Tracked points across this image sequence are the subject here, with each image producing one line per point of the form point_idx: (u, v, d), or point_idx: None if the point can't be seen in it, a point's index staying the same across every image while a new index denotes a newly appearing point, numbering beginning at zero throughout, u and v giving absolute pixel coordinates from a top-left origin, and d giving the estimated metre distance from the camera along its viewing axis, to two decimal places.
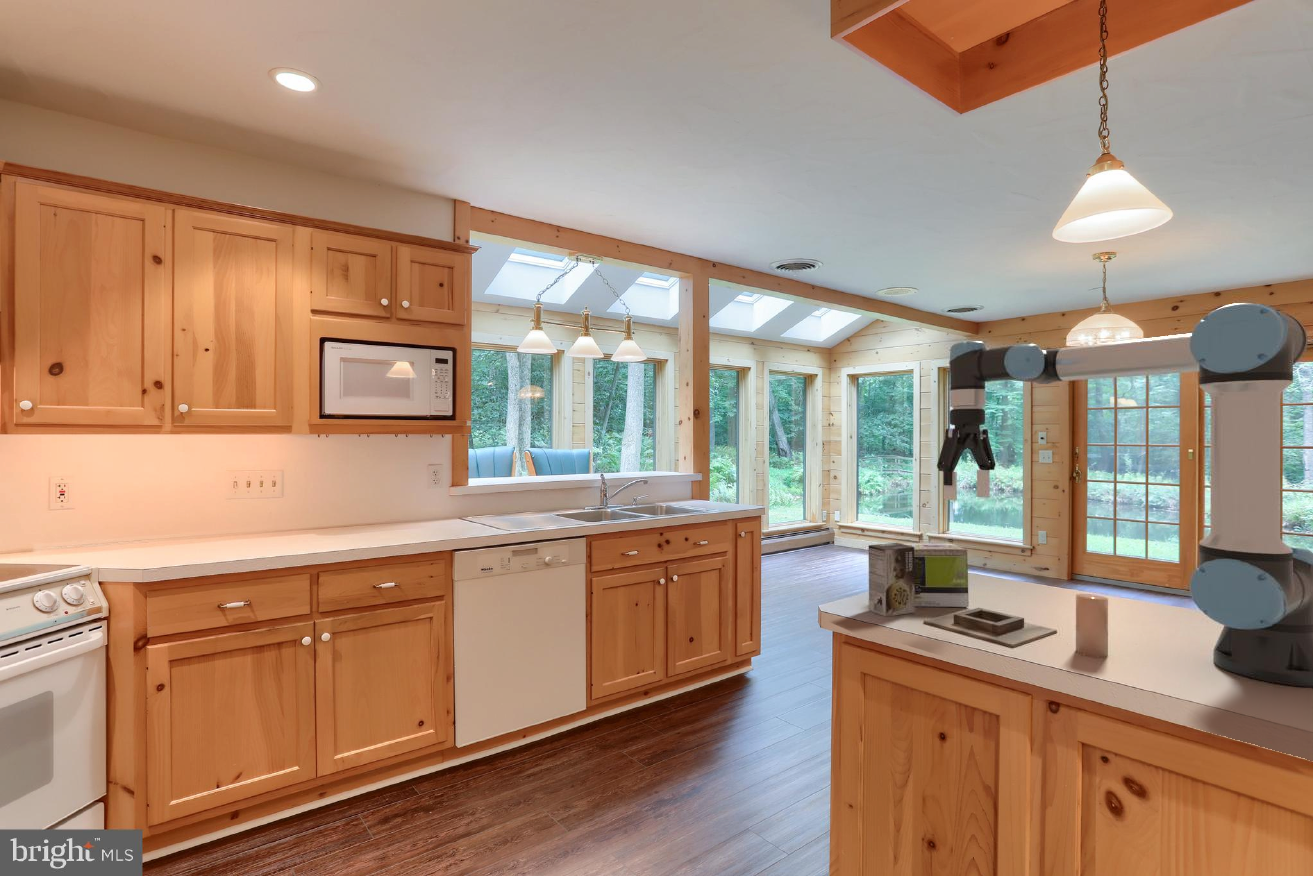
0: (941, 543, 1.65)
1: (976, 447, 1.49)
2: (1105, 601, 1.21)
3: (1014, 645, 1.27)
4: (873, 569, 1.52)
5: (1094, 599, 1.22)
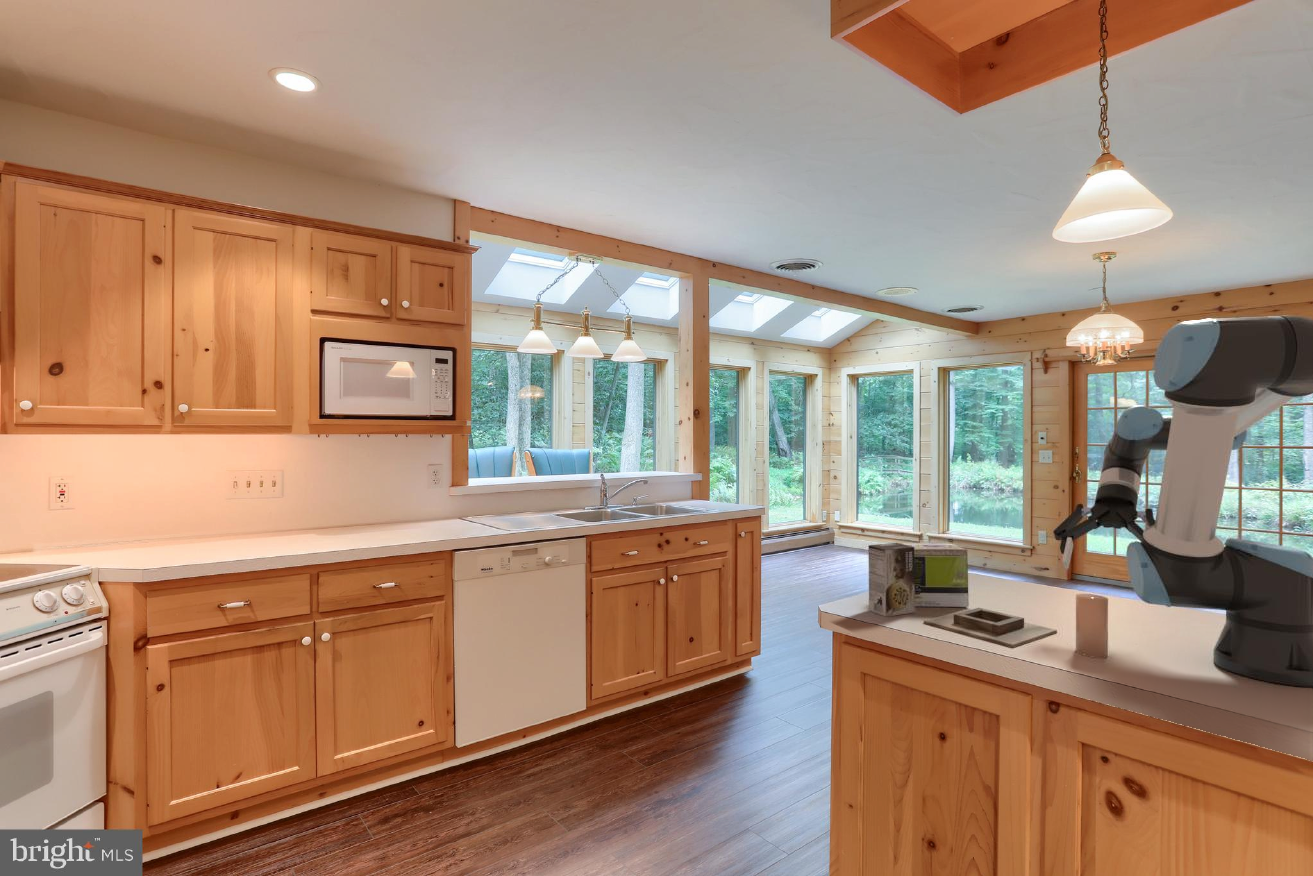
0: (941, 543, 1.65)
1: (1127, 524, 1.34)
2: (1105, 601, 1.21)
3: (1014, 645, 1.27)
4: (873, 569, 1.52)
5: (1094, 599, 1.22)
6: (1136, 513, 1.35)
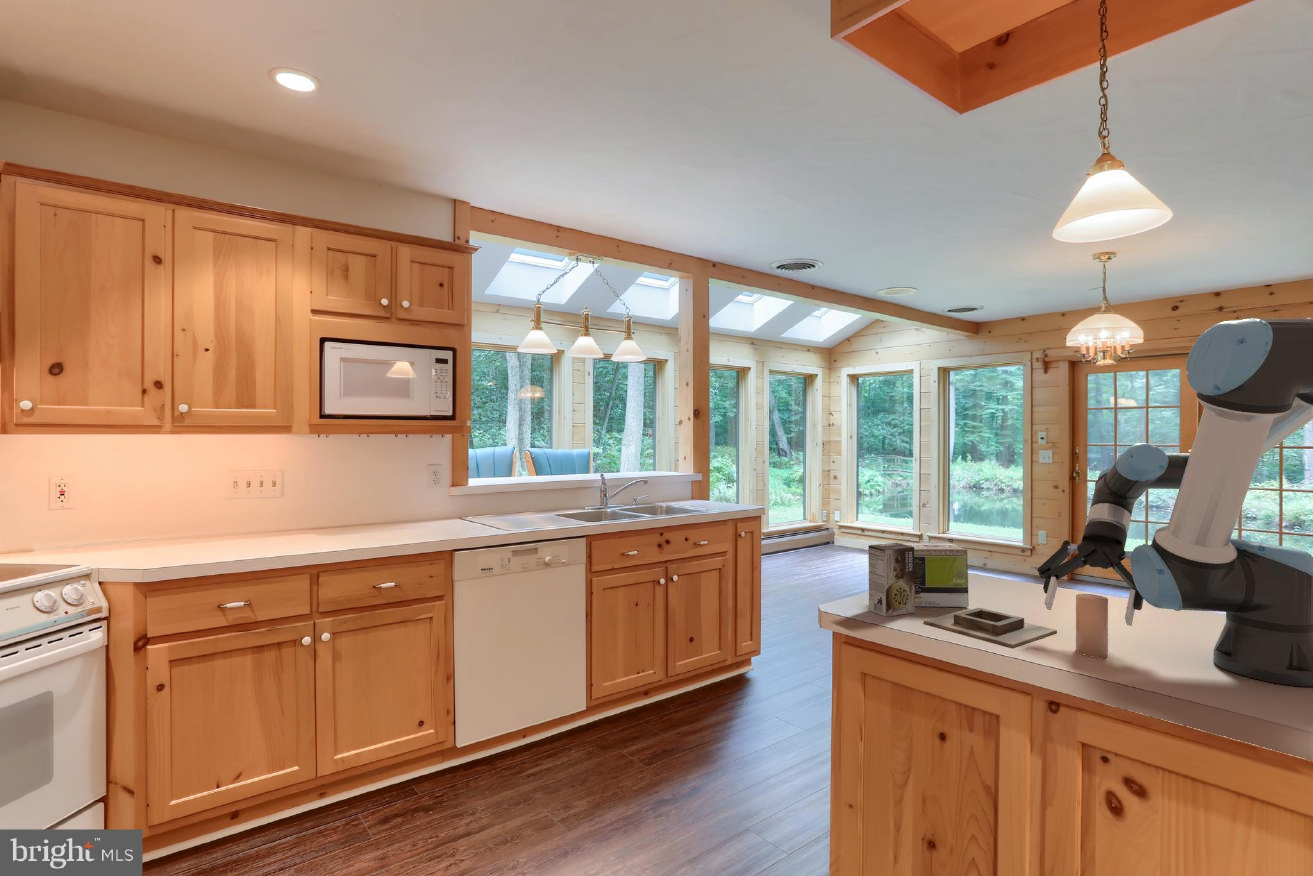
0: (941, 543, 1.65)
1: (1114, 565, 1.29)
2: (1105, 601, 1.21)
3: (1014, 645, 1.27)
4: (873, 569, 1.52)
5: (1094, 599, 1.22)
6: (1124, 553, 1.29)
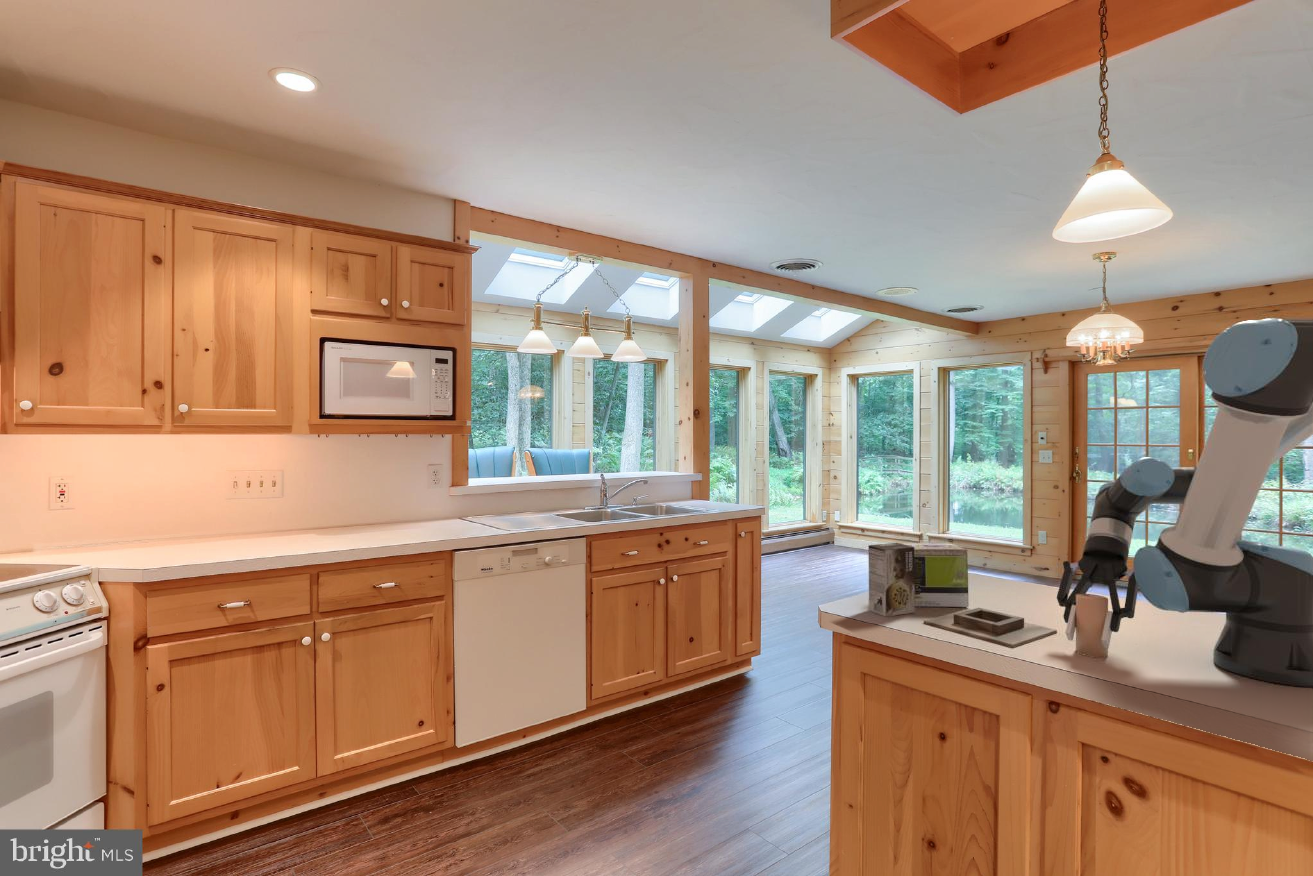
0: (941, 543, 1.65)
1: None
2: (1105, 601, 1.21)
3: (1014, 645, 1.27)
4: (873, 569, 1.52)
5: (1094, 599, 1.22)
6: (1124, 570, 1.26)
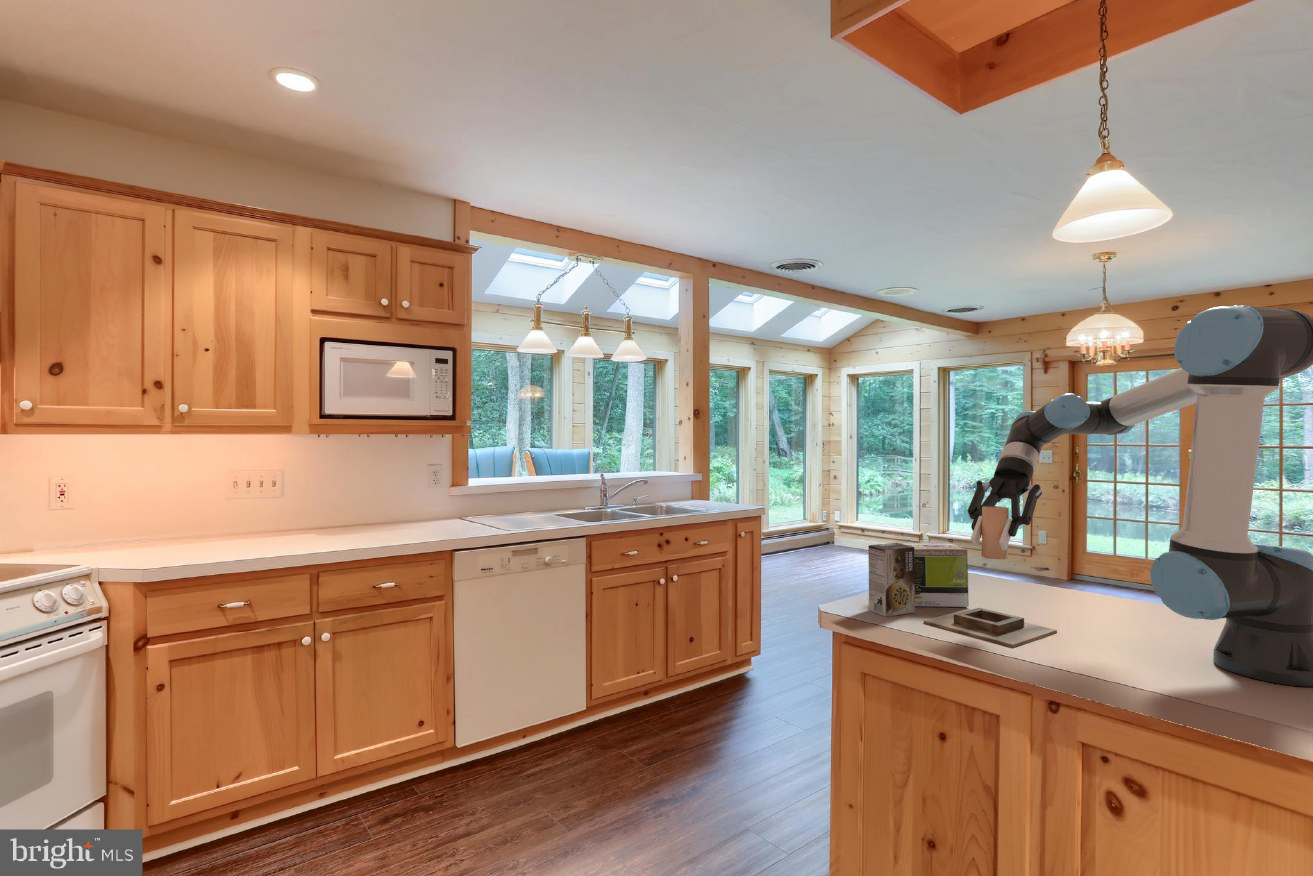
0: (941, 543, 1.65)
1: None
2: (1005, 510, 1.37)
3: (1014, 645, 1.27)
4: (873, 569, 1.52)
5: (996, 508, 1.38)
6: (1026, 485, 1.41)
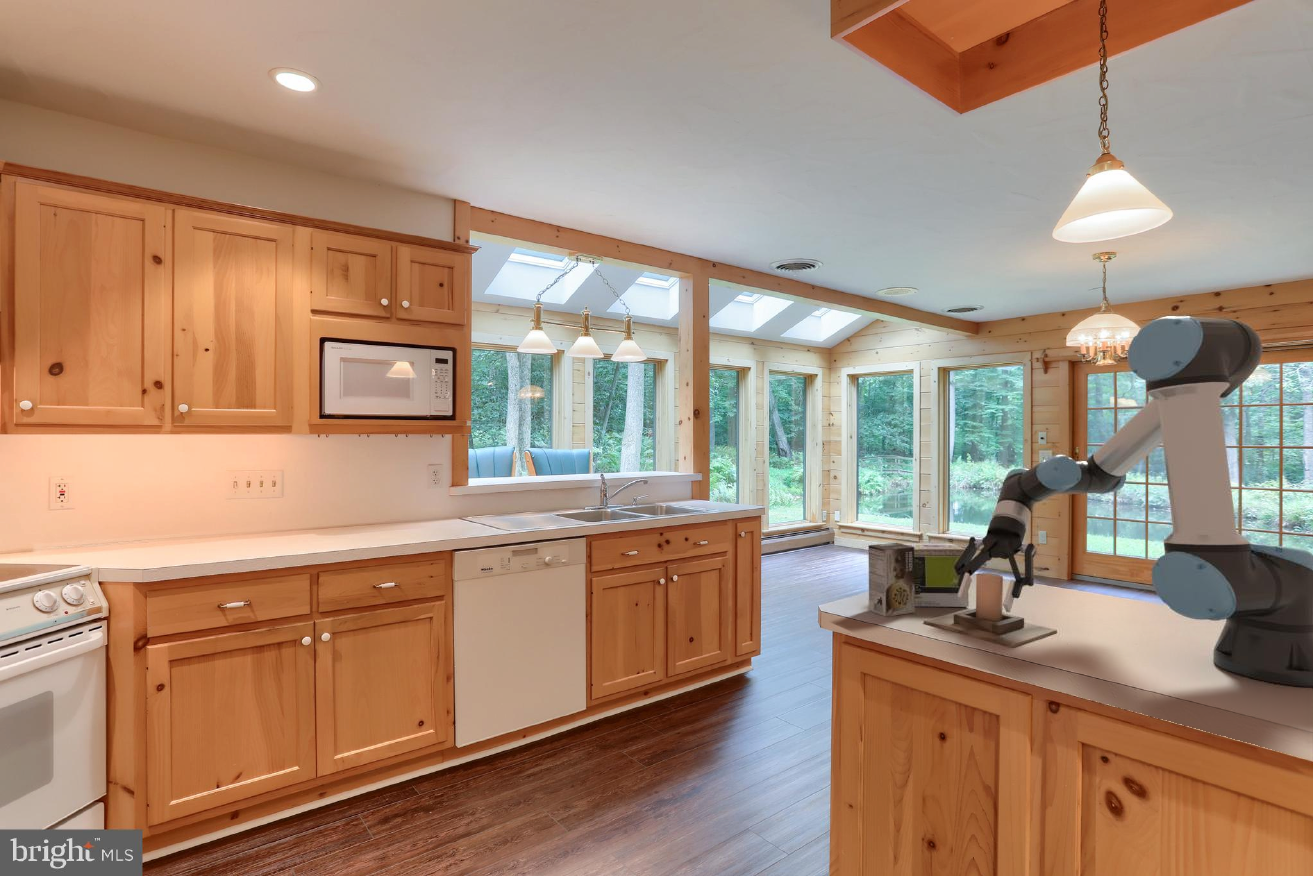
0: (941, 543, 1.65)
1: None
2: (999, 579, 1.37)
3: (1014, 645, 1.27)
4: (873, 569, 1.52)
5: (990, 577, 1.38)
6: (1020, 545, 1.42)
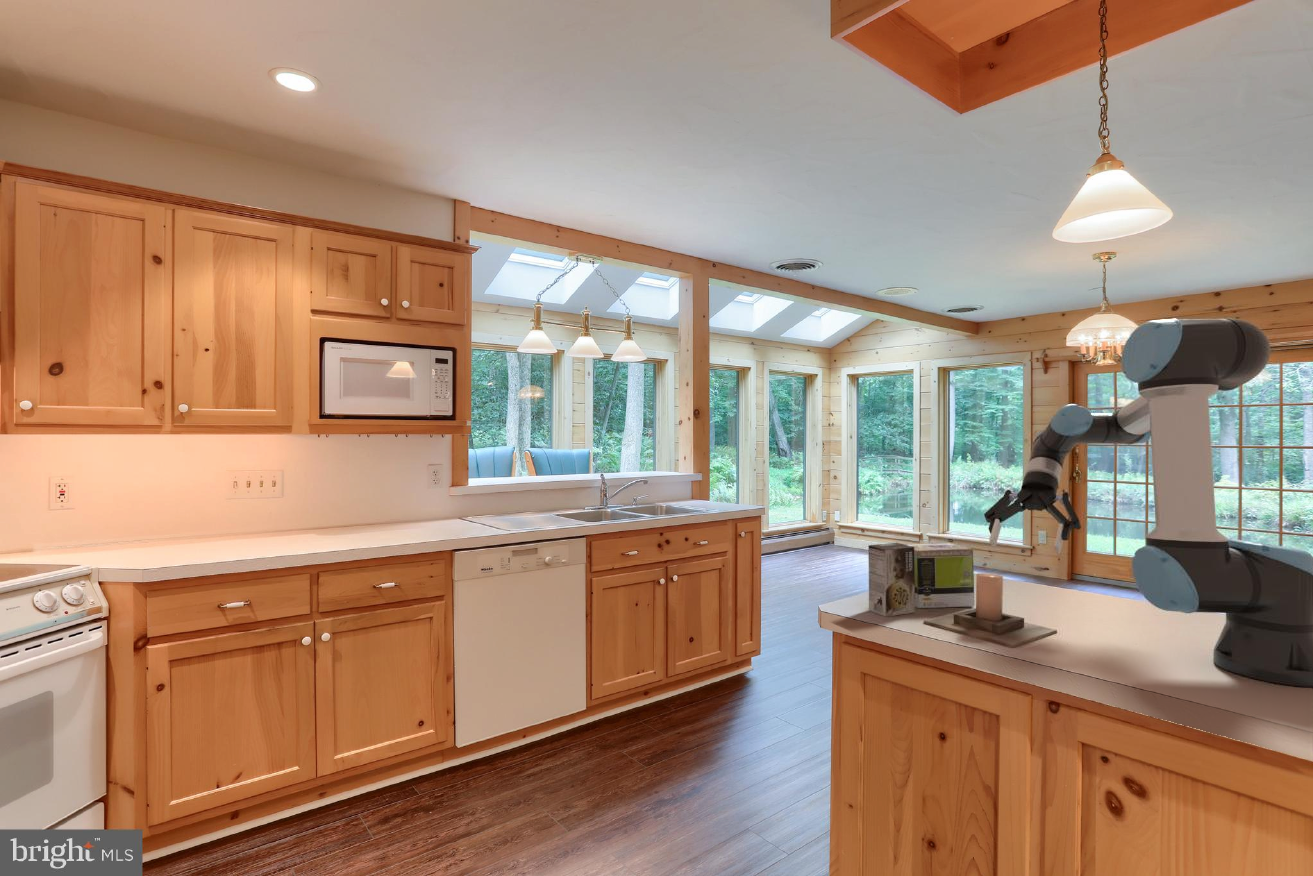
0: (941, 543, 1.66)
1: (1047, 506, 1.50)
2: (1000, 579, 1.37)
3: (1014, 645, 1.27)
4: (873, 569, 1.52)
5: (990, 577, 1.38)
6: (1055, 496, 1.51)
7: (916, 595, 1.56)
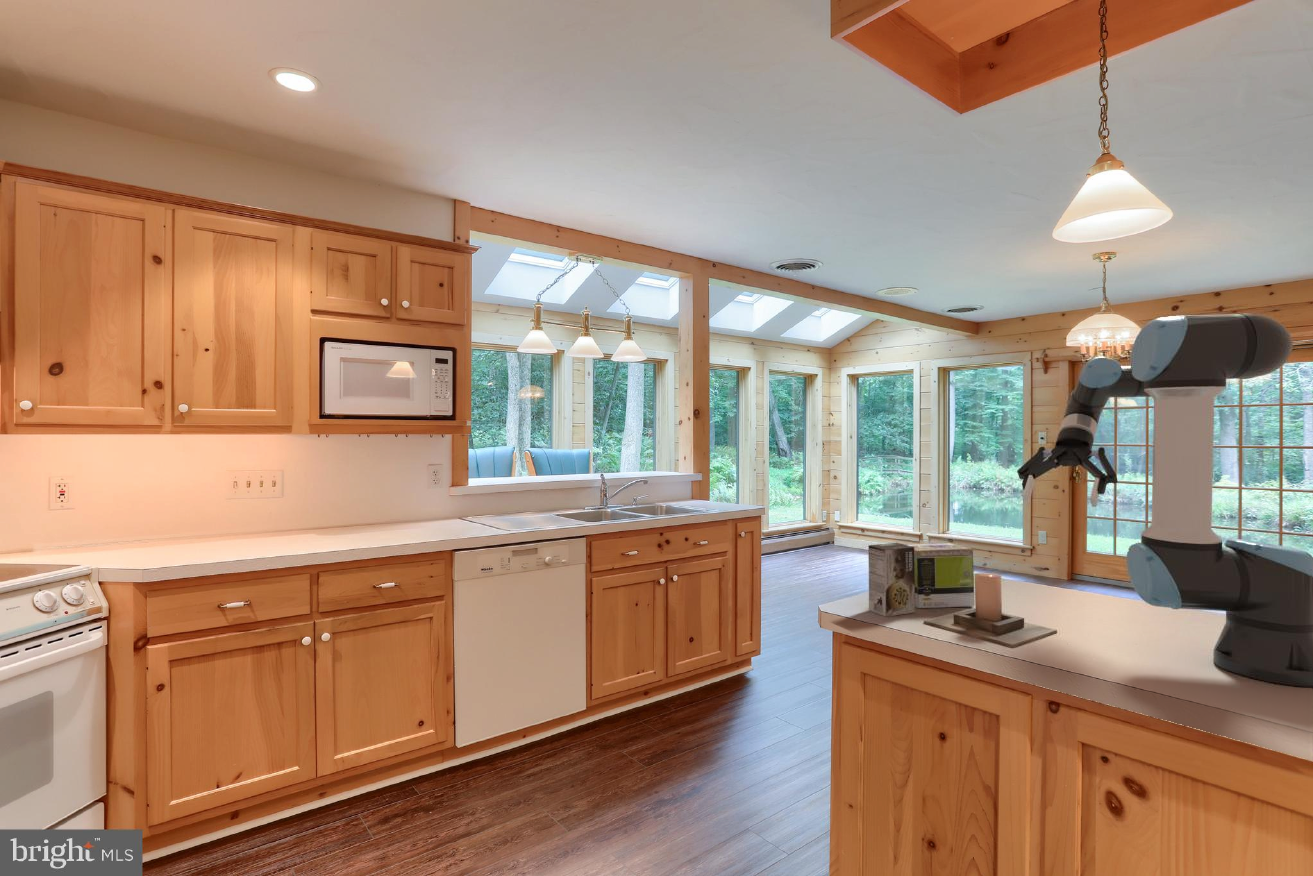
0: (941, 543, 1.66)
1: (1082, 462, 1.49)
2: (998, 578, 1.38)
3: (1014, 645, 1.27)
4: (873, 569, 1.52)
5: (989, 577, 1.38)
6: (1090, 452, 1.50)
7: (916, 595, 1.56)
